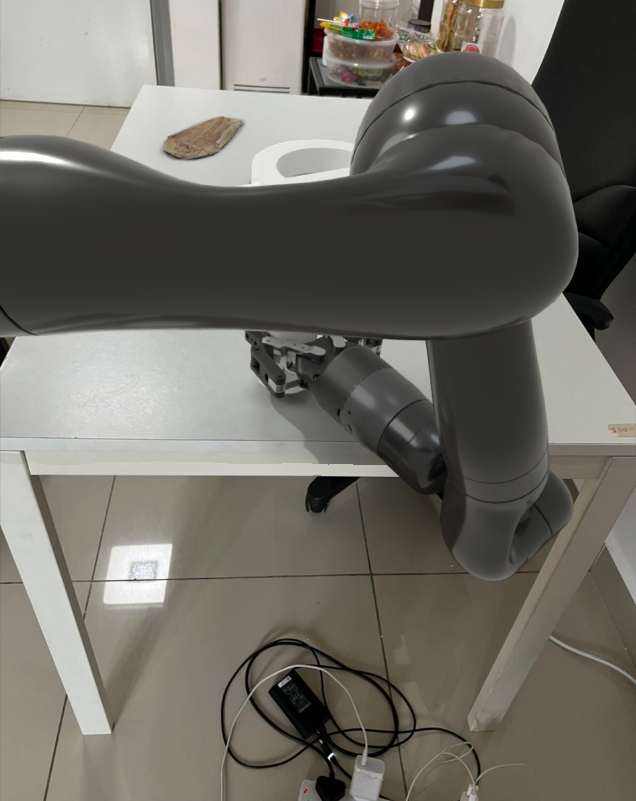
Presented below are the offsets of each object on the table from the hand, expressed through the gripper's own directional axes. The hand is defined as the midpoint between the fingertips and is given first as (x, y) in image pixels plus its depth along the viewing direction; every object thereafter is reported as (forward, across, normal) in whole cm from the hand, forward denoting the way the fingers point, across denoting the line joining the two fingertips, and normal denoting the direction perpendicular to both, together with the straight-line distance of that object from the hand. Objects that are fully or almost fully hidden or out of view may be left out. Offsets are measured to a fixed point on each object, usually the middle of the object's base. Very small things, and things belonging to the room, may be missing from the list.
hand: (275, 317), depth 71 cm
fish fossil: (+71, -32, +8) cm, 78 cm away
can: (-2, 0, +7) cm, 8 cm away
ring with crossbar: (+38, -38, +8) cm, 54 cm away
